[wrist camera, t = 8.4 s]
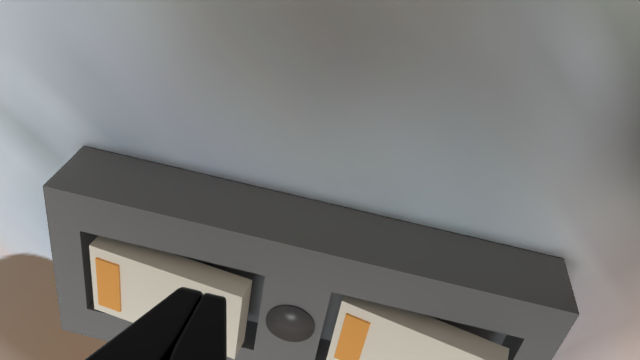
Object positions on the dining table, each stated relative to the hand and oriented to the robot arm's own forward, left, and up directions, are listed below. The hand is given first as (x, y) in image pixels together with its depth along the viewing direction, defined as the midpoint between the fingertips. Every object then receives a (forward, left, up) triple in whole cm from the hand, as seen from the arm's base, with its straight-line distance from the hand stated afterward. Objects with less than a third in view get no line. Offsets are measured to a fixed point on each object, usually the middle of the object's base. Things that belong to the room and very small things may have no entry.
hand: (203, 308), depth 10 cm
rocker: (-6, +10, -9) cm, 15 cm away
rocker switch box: (-1, +10, -12) cm, 16 cm away
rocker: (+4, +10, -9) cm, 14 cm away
